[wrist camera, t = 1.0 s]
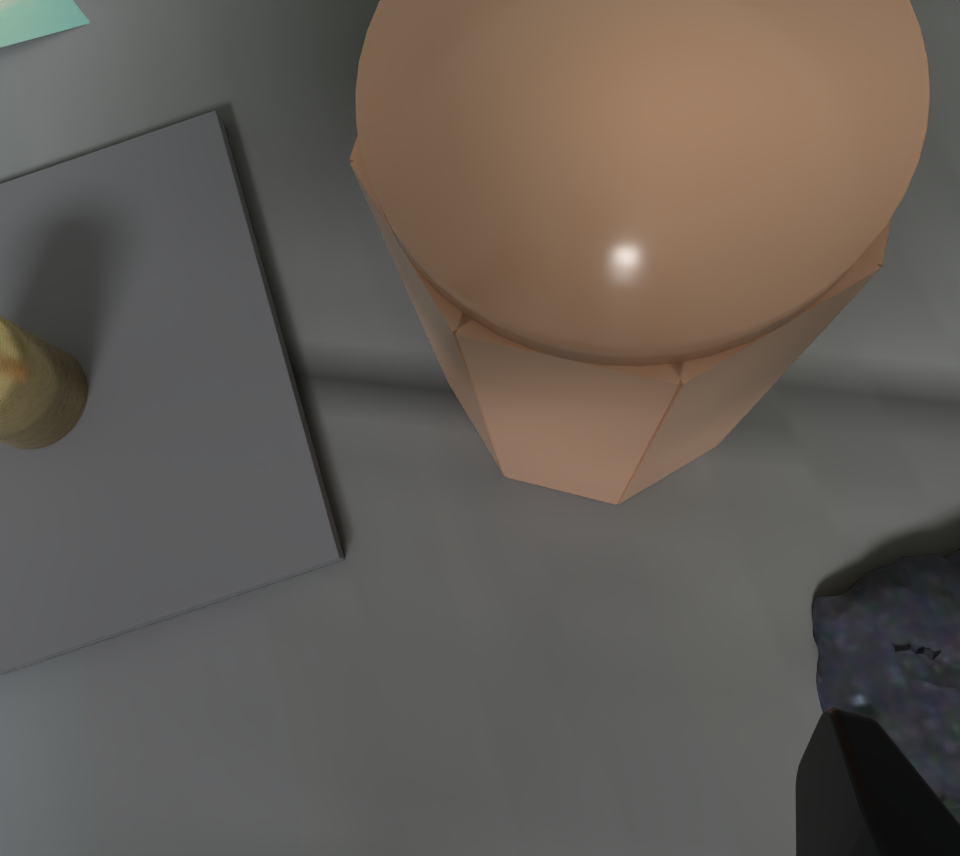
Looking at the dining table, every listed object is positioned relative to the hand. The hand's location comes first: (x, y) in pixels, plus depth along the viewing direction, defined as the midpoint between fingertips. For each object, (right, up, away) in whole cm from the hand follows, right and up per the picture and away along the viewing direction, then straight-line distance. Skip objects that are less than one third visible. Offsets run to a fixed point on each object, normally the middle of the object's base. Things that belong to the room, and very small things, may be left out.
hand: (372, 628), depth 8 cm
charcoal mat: (-11, +3, +15) cm, 19 cm away
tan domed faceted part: (+4, +4, +14) cm, 15 cm away
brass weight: (-11, +3, +14) cm, 19 cm away
